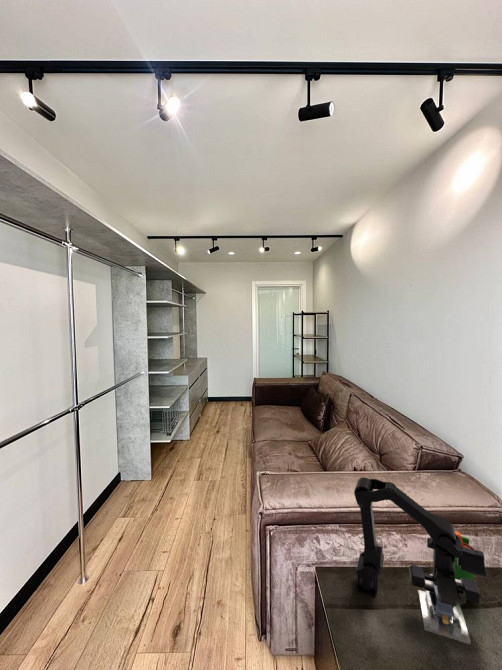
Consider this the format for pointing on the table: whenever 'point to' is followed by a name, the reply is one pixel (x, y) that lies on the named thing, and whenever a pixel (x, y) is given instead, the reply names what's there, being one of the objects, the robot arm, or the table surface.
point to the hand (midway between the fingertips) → (442, 606)
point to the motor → (457, 570)
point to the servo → (443, 608)
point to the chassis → (435, 623)
